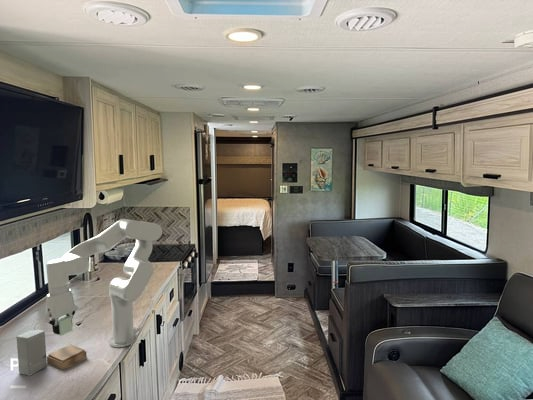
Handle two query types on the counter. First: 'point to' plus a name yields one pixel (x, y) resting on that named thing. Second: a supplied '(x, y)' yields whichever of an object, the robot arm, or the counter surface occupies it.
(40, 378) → the counter surface
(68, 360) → the walnut pedestal
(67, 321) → the sage block
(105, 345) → the counter surface
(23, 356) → the skincare box
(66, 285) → the robot arm
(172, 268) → the counter surface
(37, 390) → the counter surface
